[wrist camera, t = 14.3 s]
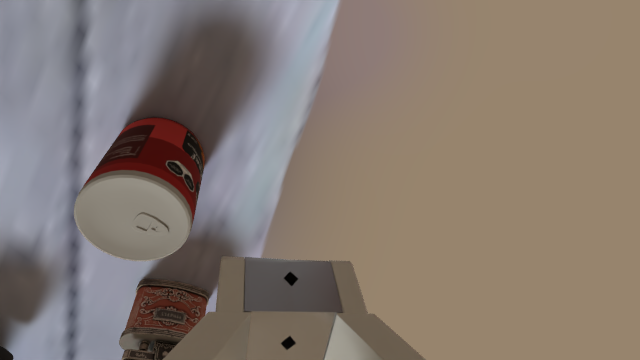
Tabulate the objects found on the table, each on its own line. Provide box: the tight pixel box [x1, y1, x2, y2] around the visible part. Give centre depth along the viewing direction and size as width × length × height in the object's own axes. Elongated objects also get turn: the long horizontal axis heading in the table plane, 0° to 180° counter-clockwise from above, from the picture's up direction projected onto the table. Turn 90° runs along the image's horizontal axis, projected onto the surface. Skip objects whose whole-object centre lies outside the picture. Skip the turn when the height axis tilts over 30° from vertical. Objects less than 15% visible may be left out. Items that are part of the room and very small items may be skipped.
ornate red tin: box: [119, 279, 209, 360], centre depth 43 cm, size 8×3×10 cm, turn 67°
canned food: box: [74, 117, 205, 261], centre depth 34 cm, size 8×8×11 cm
